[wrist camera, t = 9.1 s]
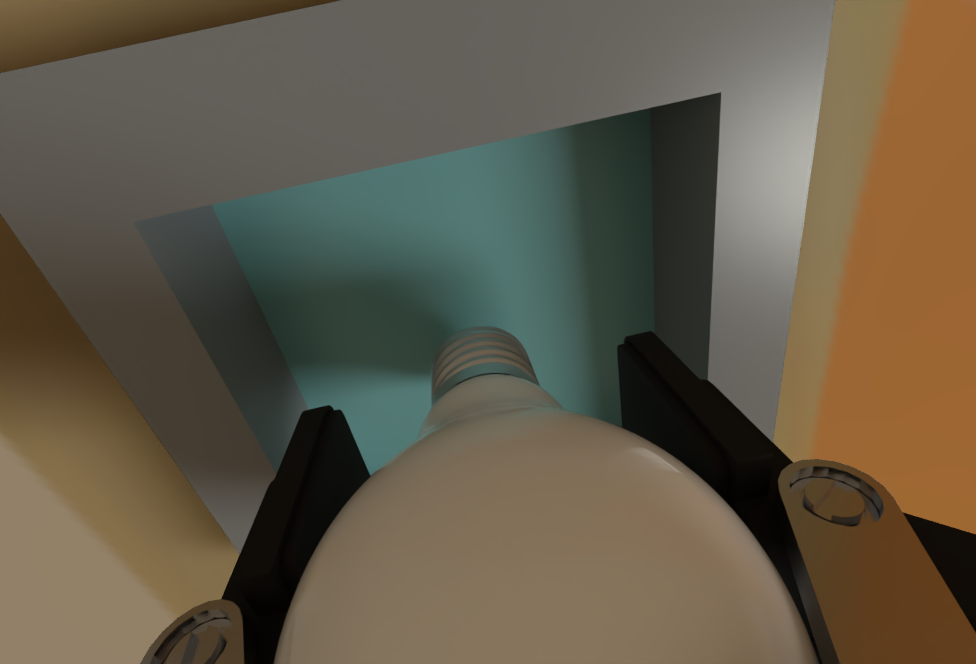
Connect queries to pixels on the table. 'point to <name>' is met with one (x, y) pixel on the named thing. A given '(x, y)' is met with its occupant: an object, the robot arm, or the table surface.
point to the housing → (417, 208)
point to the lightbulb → (535, 543)
